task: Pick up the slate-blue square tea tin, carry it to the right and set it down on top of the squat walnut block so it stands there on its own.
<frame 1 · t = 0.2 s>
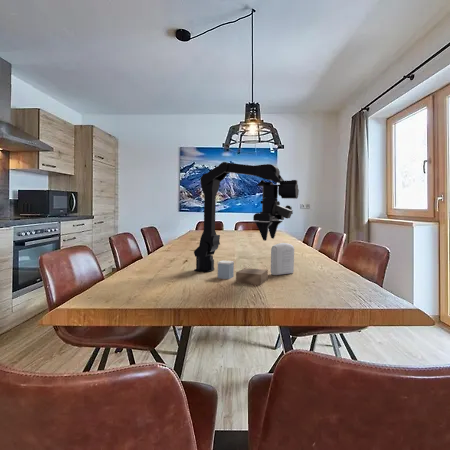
hand: (268, 239, 129), 14 cm above the table, fingers open, 9 cm apart
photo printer: (282, 274, 136), on the table
walnut block: (252, 282, 121), on the table
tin: (225, 277, 127), on the table
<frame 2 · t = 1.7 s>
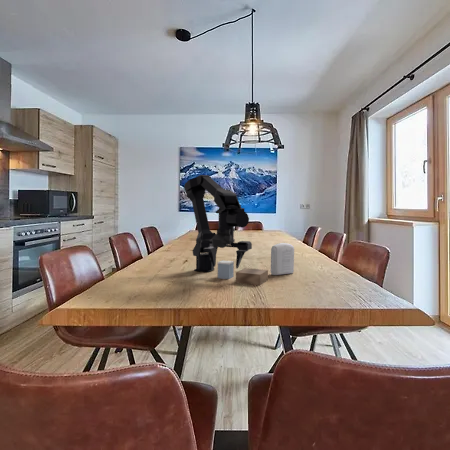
hand: (225, 267, 127), 4 cm above the table, fingers open, 9 cm apart
nothing on the table moved.
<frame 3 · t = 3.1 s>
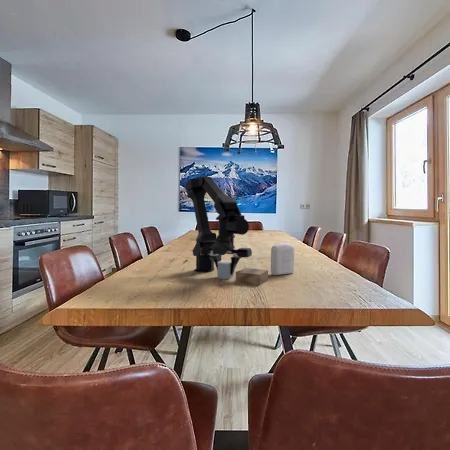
hand: (225, 274, 127), 1 cm above the table, fingers closed on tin, 5 cm apart
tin: (225, 277, 127), on the table, touching gripper
everything else where it was.
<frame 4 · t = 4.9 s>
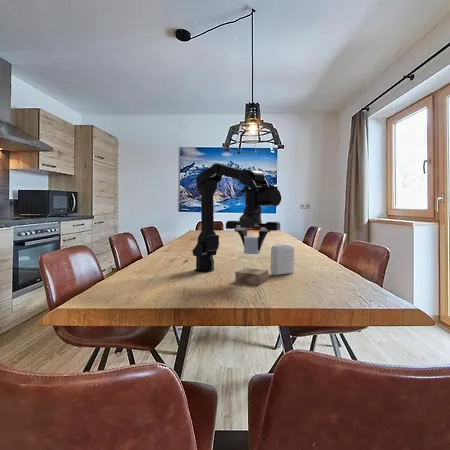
hand: (252, 249, 121), 11 cm above the table, fingers closed on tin, 5 cm apart
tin: (252, 253, 121), point 10 cm above the table, touching gripper
everything else where it was.
when the fingers open (6 cm above the table, at t = 6.8 s): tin stays where it is, point 4 cm above the table.
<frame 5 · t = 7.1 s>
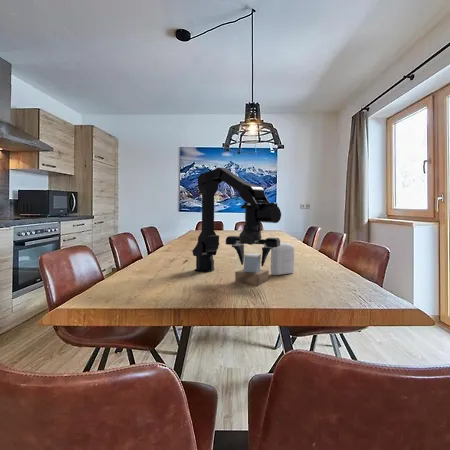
hand: (252, 265, 121), 6 cm above the table, fingers open, 7 cm apart
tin: (252, 271, 121), point 4 cm above the table
everything else where it was.
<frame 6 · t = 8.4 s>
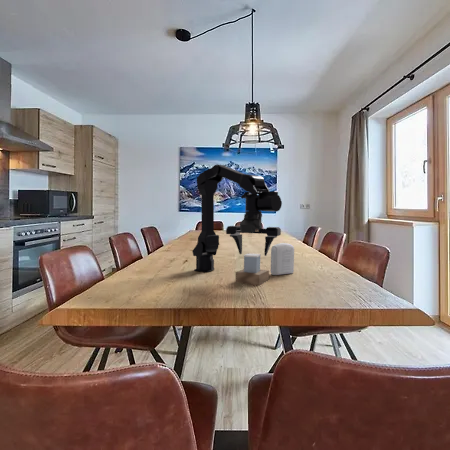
hand: (252, 254, 121), 9 cm above the table, fingers open, 9 cm apart
nothing on the table moved.
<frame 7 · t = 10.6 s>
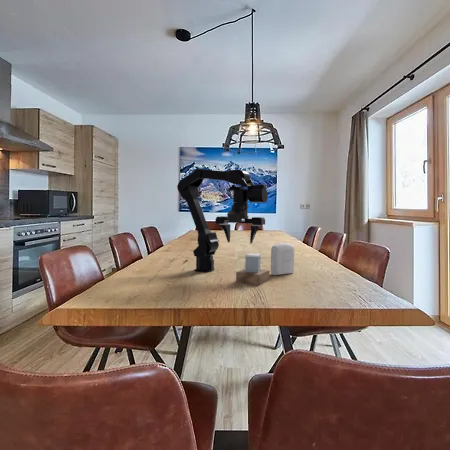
hand: (239, 242, 132), 13 cm above the table, fingers open, 9 cm apart
walnut block: (252, 282, 122), on the table, touching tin
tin: (252, 271, 121), point 4 cm above the table, touching walnut block
everything else where it was.
at the end: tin 0.1 cm off-centre on the walnut block, point 4.0 cm above the walnut block's base; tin tilted 0°; the gripper is holding nothing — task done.
